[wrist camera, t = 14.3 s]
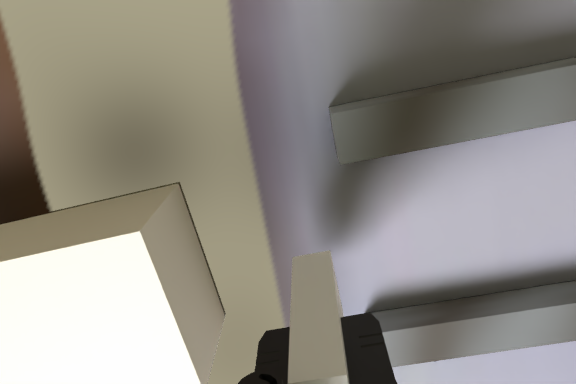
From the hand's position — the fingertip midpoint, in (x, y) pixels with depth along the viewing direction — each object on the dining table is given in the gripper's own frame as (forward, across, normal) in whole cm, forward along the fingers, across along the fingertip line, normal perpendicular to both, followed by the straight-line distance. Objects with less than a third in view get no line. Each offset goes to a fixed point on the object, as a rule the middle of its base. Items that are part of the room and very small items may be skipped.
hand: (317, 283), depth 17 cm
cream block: (+3, +10, -1) cm, 10 cm away
